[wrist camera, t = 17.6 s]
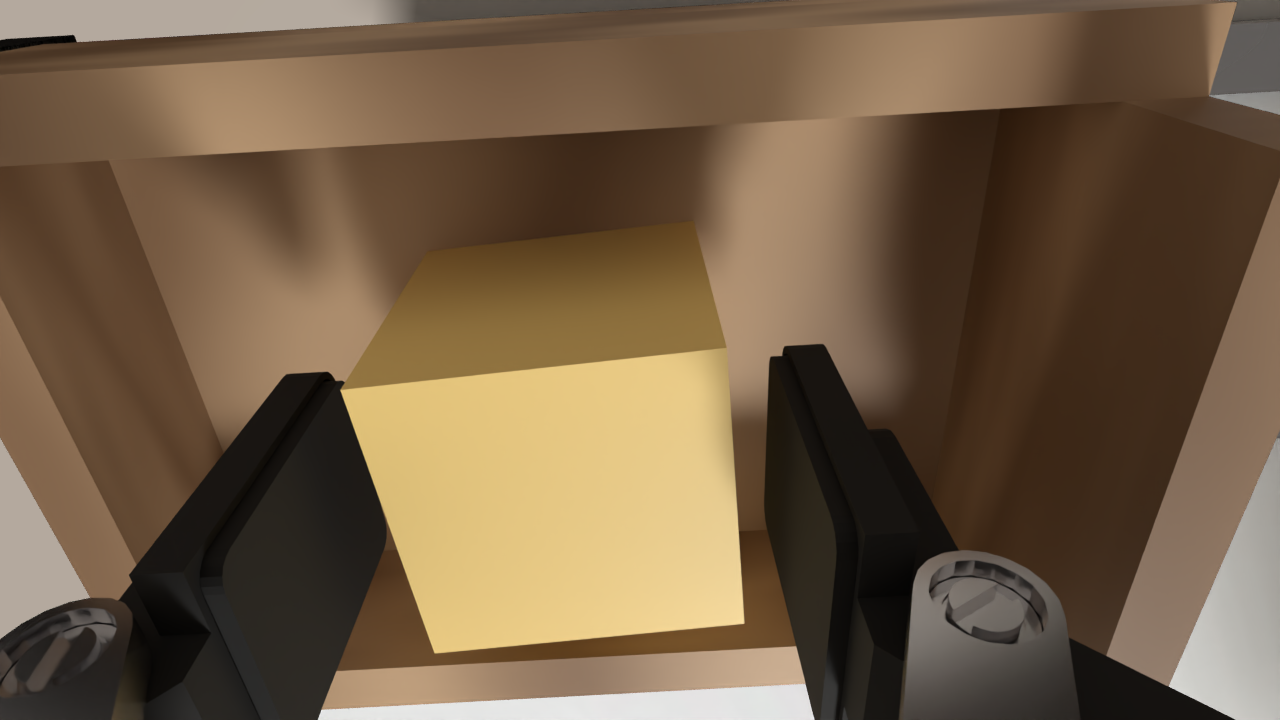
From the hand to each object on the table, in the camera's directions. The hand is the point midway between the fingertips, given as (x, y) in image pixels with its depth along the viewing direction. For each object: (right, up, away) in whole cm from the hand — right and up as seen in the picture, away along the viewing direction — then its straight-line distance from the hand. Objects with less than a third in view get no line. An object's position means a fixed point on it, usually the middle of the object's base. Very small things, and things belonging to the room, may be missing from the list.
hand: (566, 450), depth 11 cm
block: (0, +1, +3) cm, 3 cm away
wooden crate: (0, +3, +5) cm, 5 cm away
